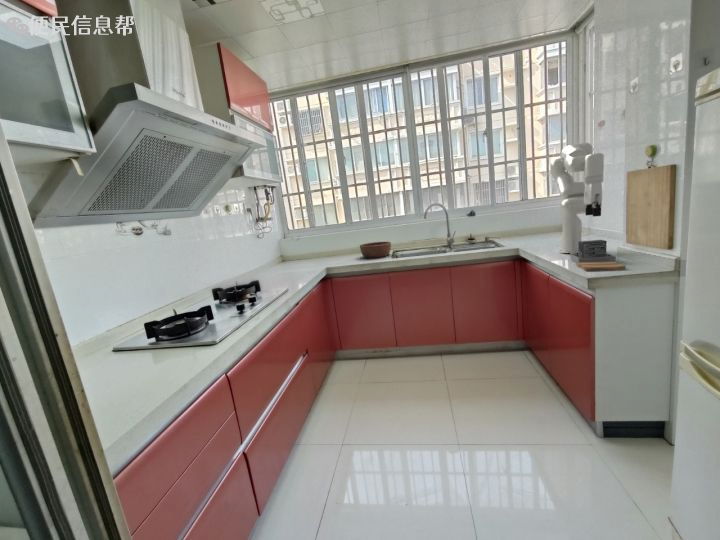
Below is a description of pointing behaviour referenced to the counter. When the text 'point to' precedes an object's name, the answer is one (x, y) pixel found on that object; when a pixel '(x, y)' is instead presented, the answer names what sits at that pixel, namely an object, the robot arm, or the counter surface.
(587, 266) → the walnut board
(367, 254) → the wooden bowl
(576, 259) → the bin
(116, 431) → the counter surface
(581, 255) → the small box
